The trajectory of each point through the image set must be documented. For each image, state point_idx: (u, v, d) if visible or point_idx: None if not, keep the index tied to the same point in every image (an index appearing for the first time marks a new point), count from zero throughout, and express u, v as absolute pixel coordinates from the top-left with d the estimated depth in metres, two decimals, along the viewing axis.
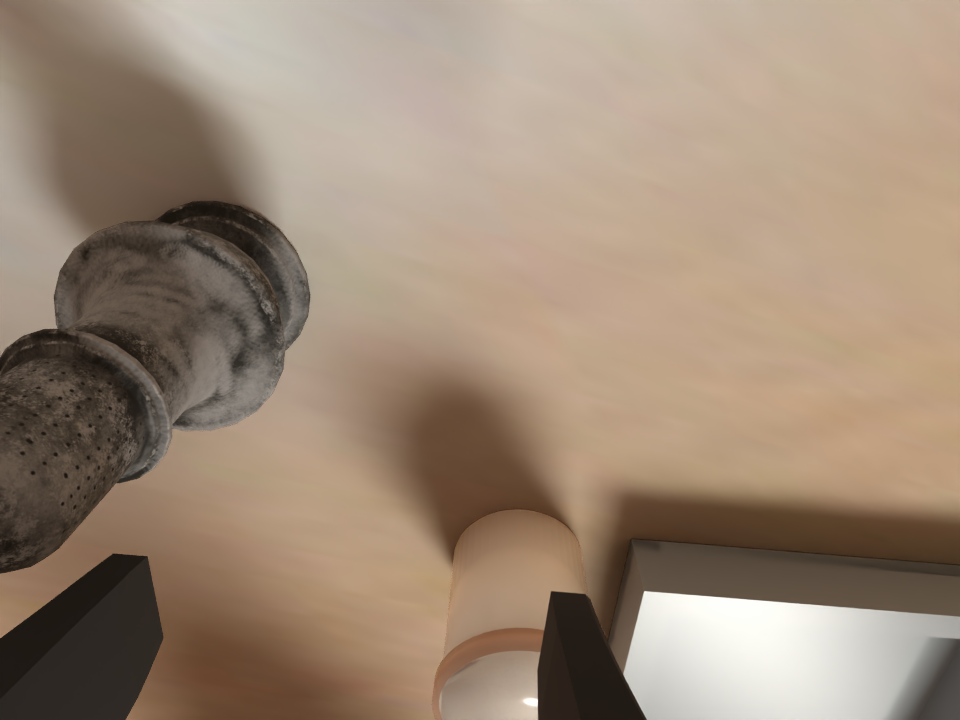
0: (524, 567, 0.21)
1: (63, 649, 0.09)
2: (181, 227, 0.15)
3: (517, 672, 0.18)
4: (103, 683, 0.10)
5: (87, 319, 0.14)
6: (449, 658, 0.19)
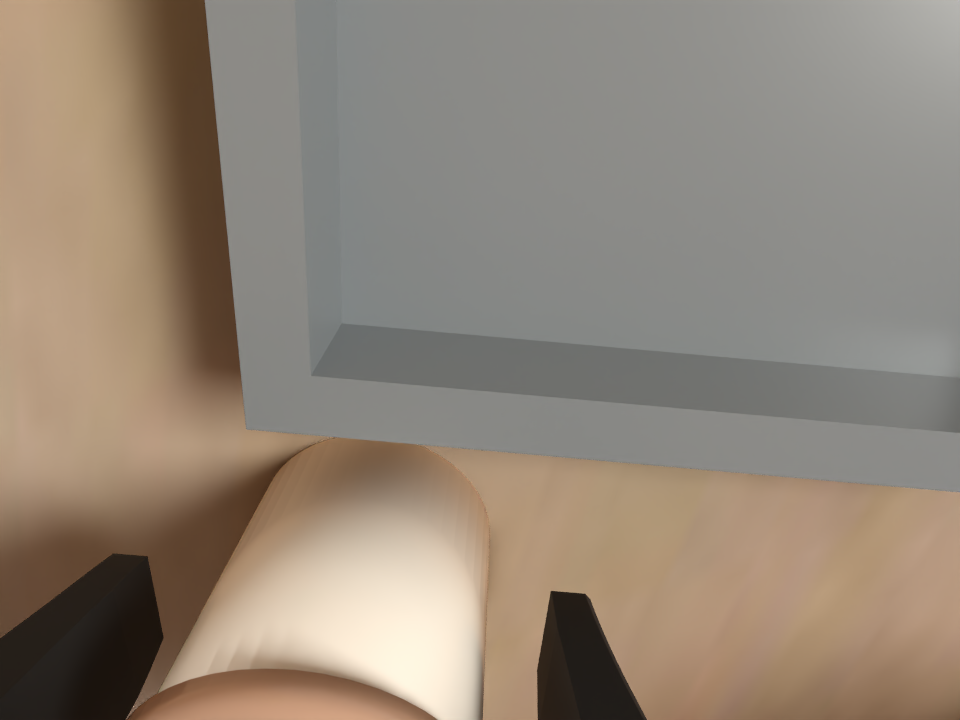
0: None
1: (63, 649, 0.09)
2: None
3: None
4: (103, 683, 0.10)
5: None
6: None
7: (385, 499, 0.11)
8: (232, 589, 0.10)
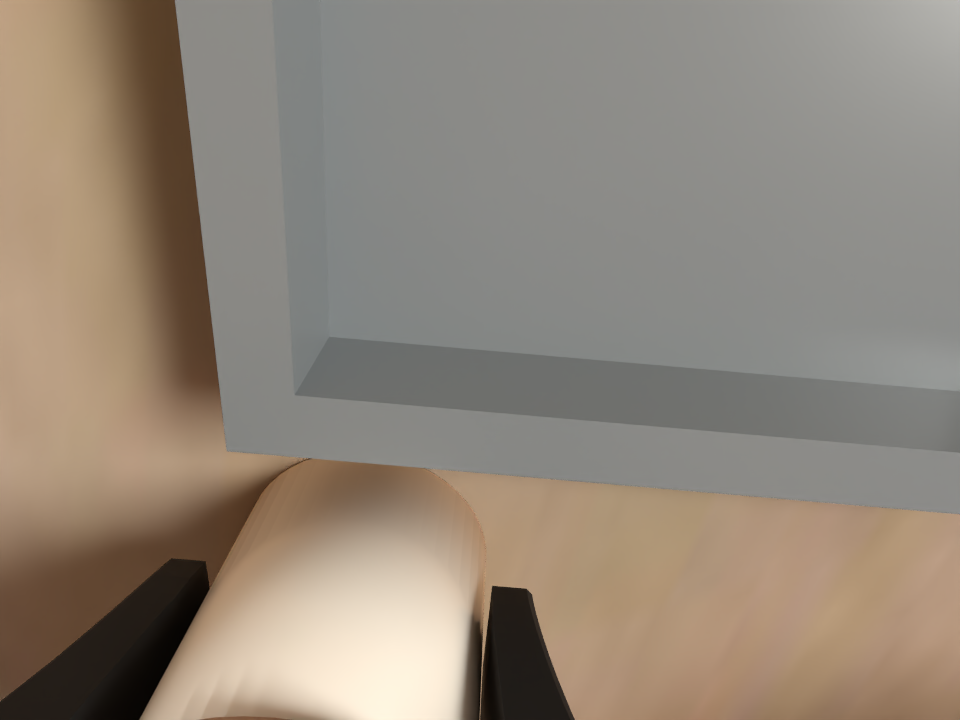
0: None
1: (134, 655, 0.09)
2: None
3: None
4: None
5: None
6: None
7: (375, 522, 0.10)
8: (212, 622, 0.09)
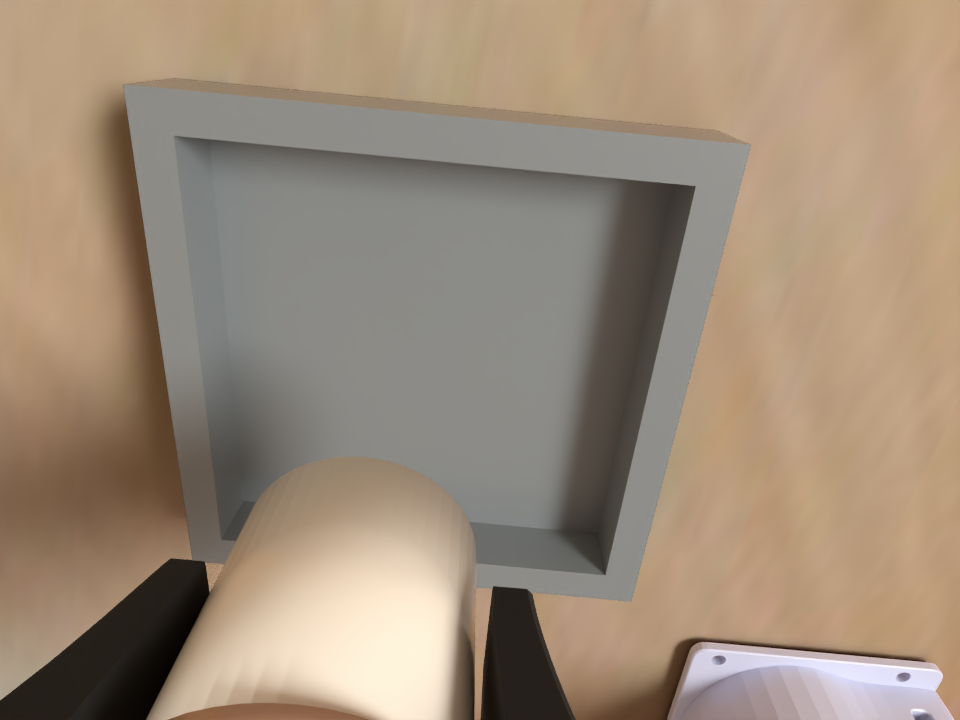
0: None
1: (133, 655, 0.09)
2: None
3: None
4: None
5: None
6: None
7: (382, 525, 0.11)
8: (227, 616, 0.09)
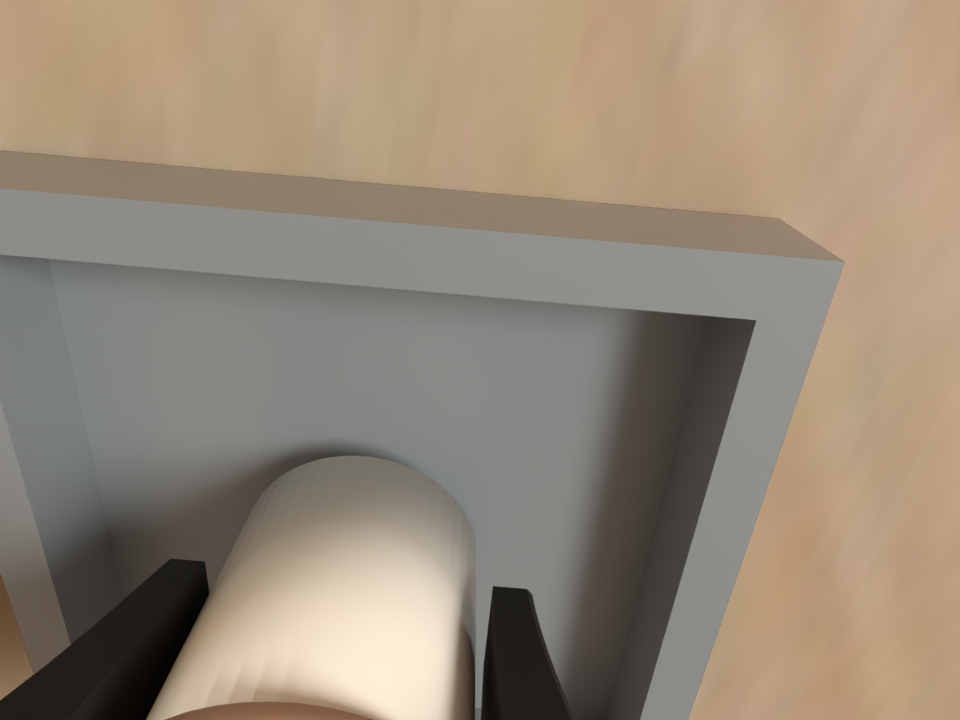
0: None
1: (133, 655, 0.09)
2: None
3: None
4: None
5: None
6: None
7: (382, 524, 0.11)
8: (227, 614, 0.09)
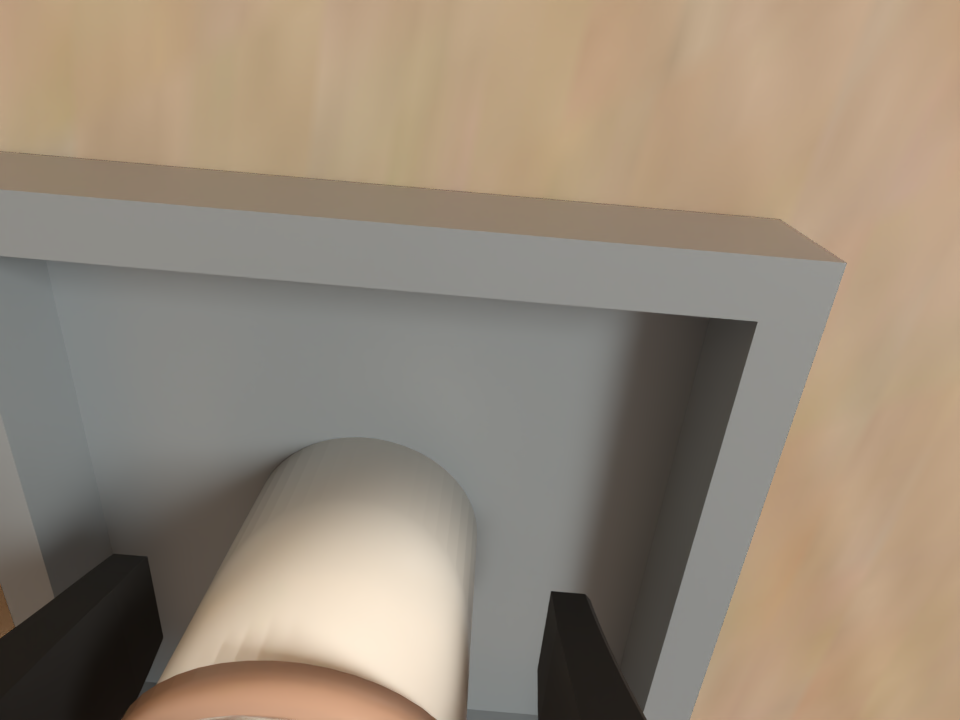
0: None
1: (63, 649, 0.09)
2: None
3: None
4: (103, 683, 0.10)
5: None
6: None
7: (384, 502, 0.11)
8: (236, 582, 0.10)
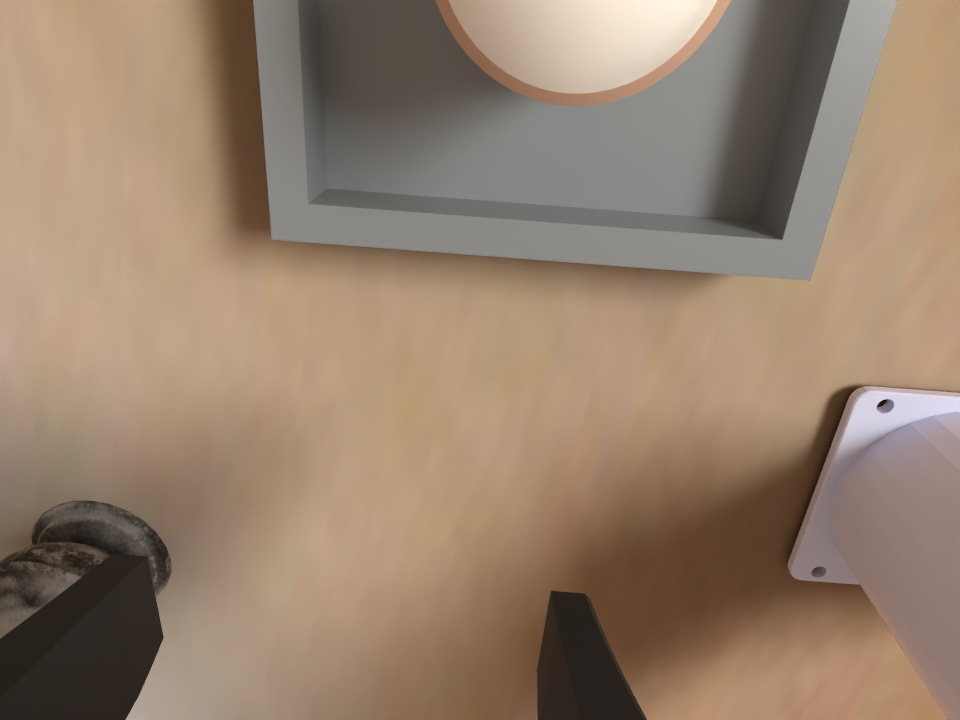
0: None
1: (63, 649, 0.09)
2: None
3: None
4: (103, 683, 0.10)
5: None
6: None
7: None
8: None
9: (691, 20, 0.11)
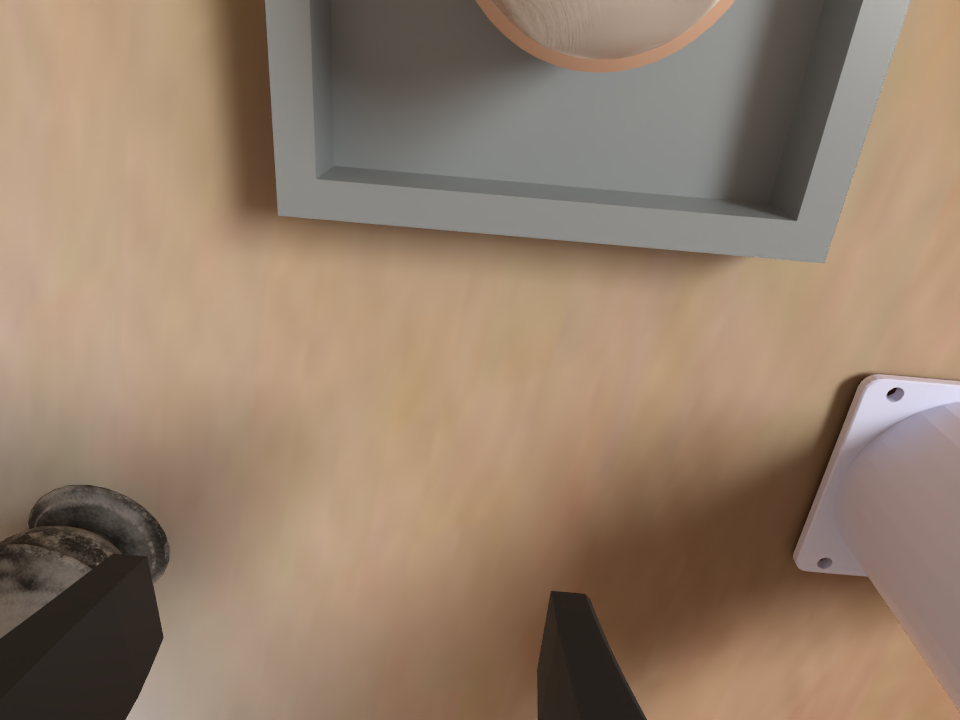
0: None
1: (63, 649, 0.09)
2: None
3: None
4: (103, 683, 0.10)
5: None
6: (500, 31, 0.11)
7: None
8: None
9: None
